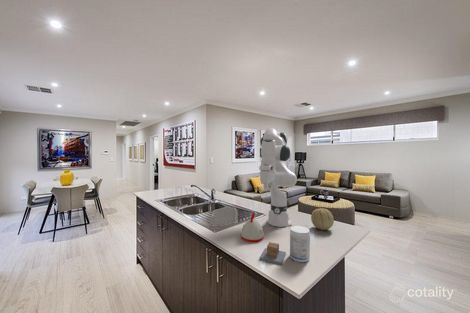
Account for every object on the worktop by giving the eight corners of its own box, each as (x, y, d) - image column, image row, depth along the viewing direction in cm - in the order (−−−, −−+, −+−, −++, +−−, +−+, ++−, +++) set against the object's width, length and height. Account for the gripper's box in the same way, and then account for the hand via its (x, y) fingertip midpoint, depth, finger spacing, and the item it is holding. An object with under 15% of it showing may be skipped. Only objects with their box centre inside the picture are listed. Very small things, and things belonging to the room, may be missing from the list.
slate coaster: (265, 250, 109) (265, 247, 109) (285, 254, 105) (285, 251, 105) (259, 259, 99) (259, 257, 99) (281, 264, 95) (281, 262, 95)
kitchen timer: (264, 234, 130) (265, 211, 130) (261, 243, 117) (262, 218, 117) (243, 232, 134) (244, 209, 134) (238, 240, 120) (239, 216, 120)
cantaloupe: (331, 235, 130) (331, 212, 130) (308, 229, 139) (308, 208, 139) (335, 228, 142) (336, 207, 142) (314, 223, 151) (314, 204, 151)
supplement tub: (295, 251, 108) (295, 224, 108) (312, 257, 102) (313, 229, 101) (286, 258, 101) (286, 229, 101) (304, 265, 95) (305, 234, 94)
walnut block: (269, 251, 105) (269, 241, 105) (278, 253, 103) (279, 243, 103) (266, 255, 101) (267, 245, 101) (276, 257, 99) (277, 247, 99)
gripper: (267, 165, 130) (267, 186, 130) (258, 167, 111) (257, 192, 111) (277, 165, 127) (276, 187, 127) (269, 167, 108) (269, 193, 108)
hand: (268, 189), depth 119 cm, fingers open, 8 cm apart
